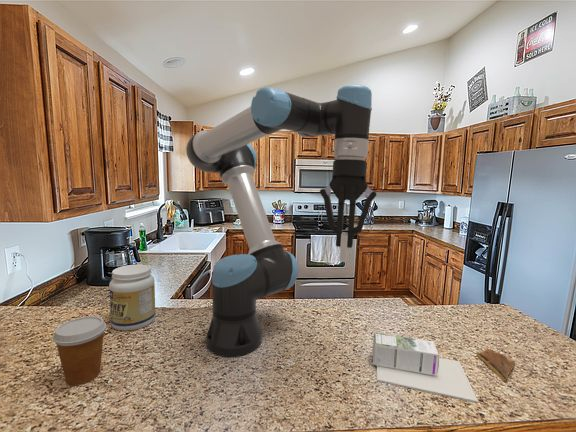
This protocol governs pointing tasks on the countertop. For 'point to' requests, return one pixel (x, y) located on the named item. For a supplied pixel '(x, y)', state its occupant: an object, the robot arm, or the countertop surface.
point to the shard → (497, 362)
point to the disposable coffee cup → (80, 348)
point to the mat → (432, 380)
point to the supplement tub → (132, 297)
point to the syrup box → (405, 354)
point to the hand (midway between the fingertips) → (343, 260)
